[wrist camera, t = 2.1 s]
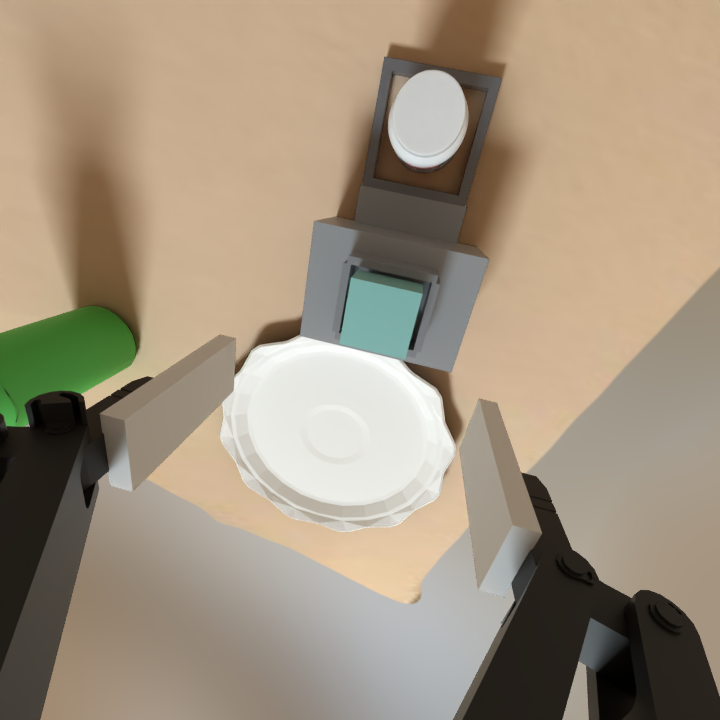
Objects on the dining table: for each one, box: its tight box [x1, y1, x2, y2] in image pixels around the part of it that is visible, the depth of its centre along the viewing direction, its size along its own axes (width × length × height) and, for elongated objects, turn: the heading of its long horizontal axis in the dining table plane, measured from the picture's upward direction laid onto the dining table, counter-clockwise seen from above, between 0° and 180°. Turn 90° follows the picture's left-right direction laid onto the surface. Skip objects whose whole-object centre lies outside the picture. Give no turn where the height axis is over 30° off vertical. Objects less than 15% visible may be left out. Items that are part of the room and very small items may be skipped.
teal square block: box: [339, 270, 423, 359], centre depth 27 cm, size 5×5×3 cm
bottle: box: [0, 306, 136, 427], centre depth 35 cm, size 9×9×25 cm
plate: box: [220, 335, 456, 532], centre depth 46 cm, size 29×29×2 cm
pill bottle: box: [388, 70, 469, 173], centre depth 28 cm, size 6×6×10 cm
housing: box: [300, 57, 502, 372], centre depth 30 cm, size 23×14×10 cm, turn 169°
